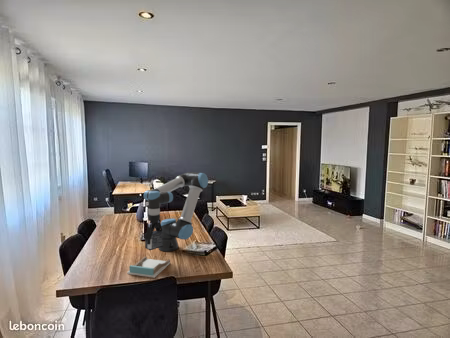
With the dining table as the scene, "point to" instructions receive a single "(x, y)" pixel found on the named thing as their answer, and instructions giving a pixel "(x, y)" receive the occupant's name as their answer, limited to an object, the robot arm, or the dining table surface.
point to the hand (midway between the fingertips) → (154, 245)
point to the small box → (155, 240)
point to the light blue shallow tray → (148, 267)
